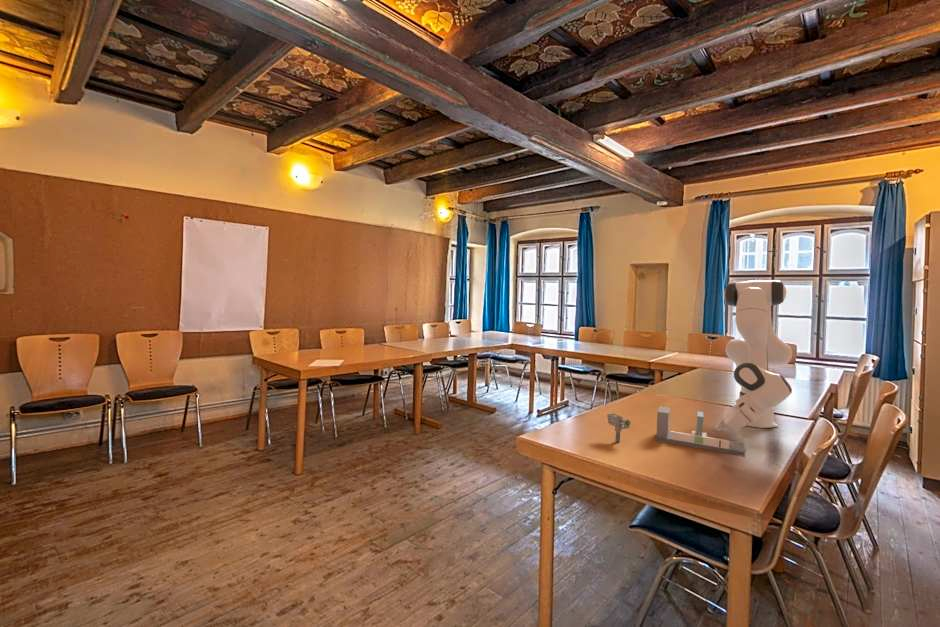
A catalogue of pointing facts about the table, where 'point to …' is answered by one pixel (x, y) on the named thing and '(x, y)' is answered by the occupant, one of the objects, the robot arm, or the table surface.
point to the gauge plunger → (699, 425)
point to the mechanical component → (618, 424)
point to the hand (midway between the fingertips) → (716, 429)
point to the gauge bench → (693, 437)
